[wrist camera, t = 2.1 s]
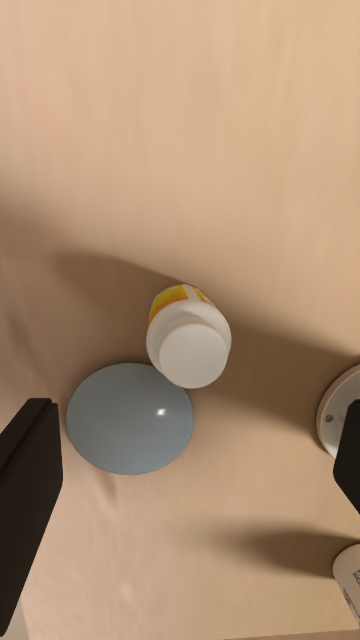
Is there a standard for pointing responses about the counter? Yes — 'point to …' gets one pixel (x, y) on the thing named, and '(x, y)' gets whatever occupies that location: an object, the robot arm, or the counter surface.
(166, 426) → the dish
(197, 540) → the counter surface
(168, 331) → the supplement bottle
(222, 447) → the counter surface
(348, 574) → the bath foam
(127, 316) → the counter surface
